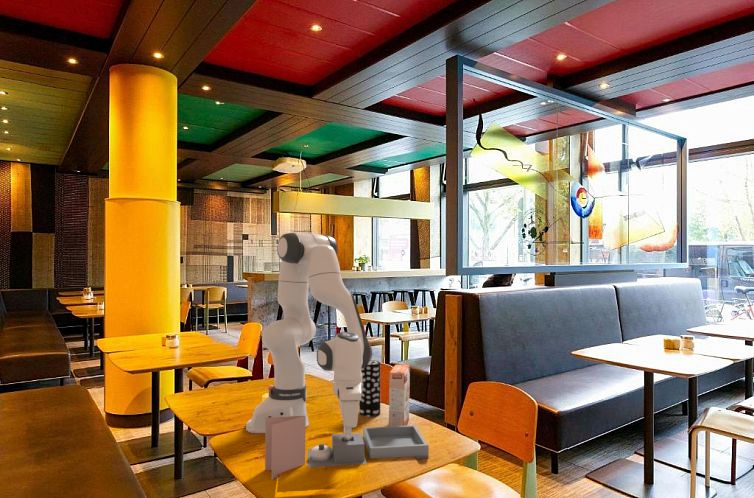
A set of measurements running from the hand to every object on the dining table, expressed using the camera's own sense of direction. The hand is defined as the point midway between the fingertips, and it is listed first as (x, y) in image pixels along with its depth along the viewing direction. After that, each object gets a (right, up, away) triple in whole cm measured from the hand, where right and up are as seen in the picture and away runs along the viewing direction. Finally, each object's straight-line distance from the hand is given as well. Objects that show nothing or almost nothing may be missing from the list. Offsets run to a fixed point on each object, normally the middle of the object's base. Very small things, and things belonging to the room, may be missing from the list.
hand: (347, 432), depth 146 cm
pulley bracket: (-3, -8, -1) cm, 9 cm away
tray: (+15, -8, +8) cm, 19 cm away
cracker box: (+17, -9, +30) cm, 36 cm away
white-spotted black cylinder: (+6, -9, +43) cm, 45 cm away
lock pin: (0, -7, 0) cm, 7 cm away
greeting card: (-17, -8, -10) cm, 21 cm away
